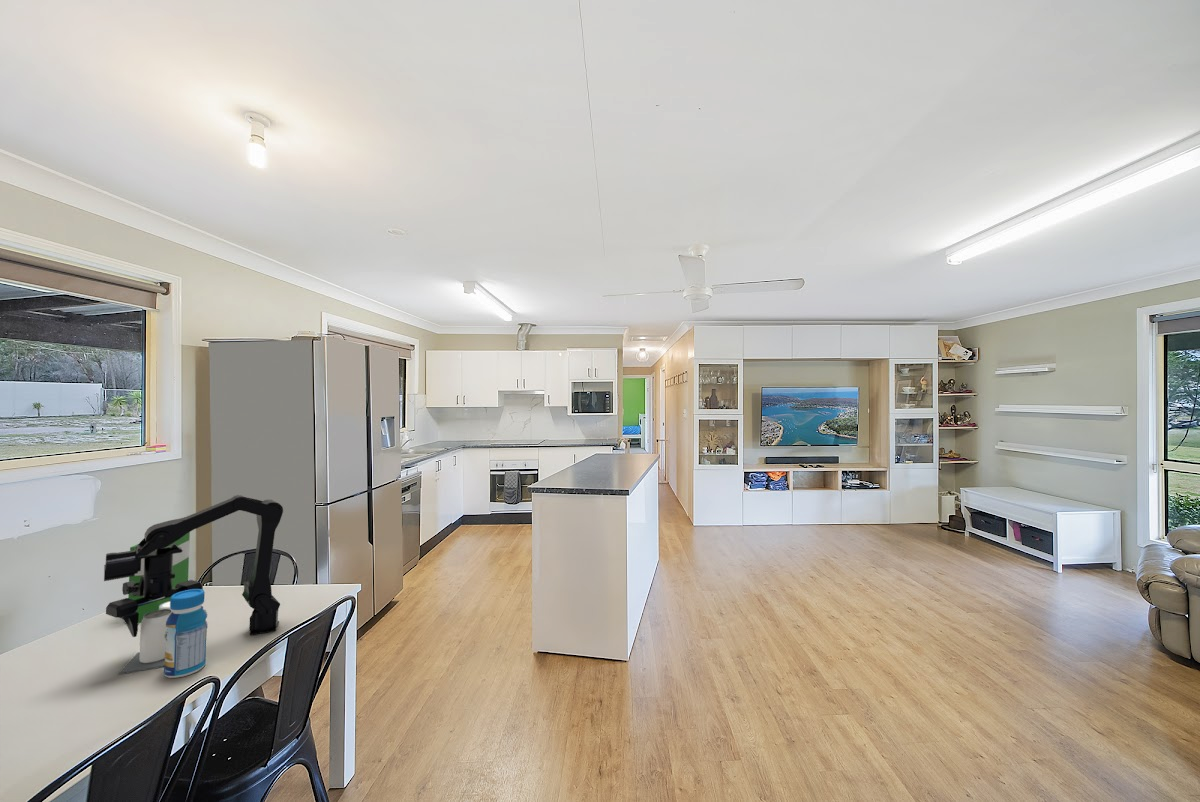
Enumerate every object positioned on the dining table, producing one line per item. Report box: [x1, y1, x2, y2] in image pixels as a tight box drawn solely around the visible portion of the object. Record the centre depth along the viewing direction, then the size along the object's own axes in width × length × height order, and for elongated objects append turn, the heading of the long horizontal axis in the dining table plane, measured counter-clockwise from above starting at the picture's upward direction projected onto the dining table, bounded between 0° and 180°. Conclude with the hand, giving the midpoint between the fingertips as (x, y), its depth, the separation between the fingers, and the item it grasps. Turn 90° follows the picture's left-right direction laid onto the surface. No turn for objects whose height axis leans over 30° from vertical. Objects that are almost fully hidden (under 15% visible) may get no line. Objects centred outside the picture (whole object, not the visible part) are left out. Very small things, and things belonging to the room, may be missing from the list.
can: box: [139, 609, 171, 664], centre depth 127 cm, size 6×6×12 cm
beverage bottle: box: [163, 589, 209, 679], centre depth 122 cm, size 8×8×20 cm
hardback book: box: [127, 531, 191, 624], centre depth 156 cm, size 18×7×24 cm, turn 17°
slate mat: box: [117, 651, 165, 675], centre depth 127 cm, size 11×11×1 cm
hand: (156, 629), depth 127 cm, fingers open, 9 cm apart
